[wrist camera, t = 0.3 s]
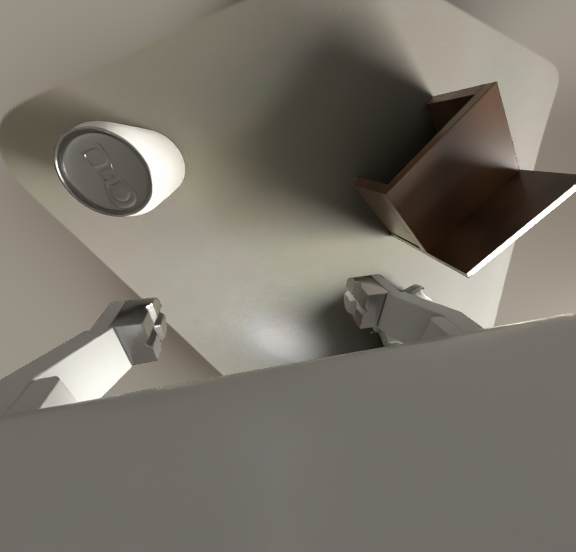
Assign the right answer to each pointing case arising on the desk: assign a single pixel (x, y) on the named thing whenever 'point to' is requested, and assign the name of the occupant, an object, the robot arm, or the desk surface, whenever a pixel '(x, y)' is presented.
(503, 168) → the wooden doll chair
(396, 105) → the desk surface
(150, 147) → the can
